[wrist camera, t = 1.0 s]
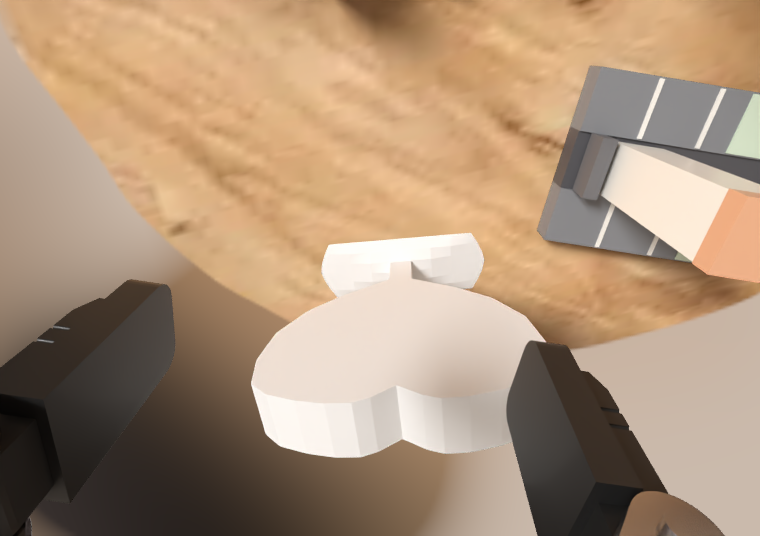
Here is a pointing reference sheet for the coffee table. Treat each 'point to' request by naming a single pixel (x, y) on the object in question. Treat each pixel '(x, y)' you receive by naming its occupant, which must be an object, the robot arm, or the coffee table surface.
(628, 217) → the console
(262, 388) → the heart sculpture
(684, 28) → the coffee table surface
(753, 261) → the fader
